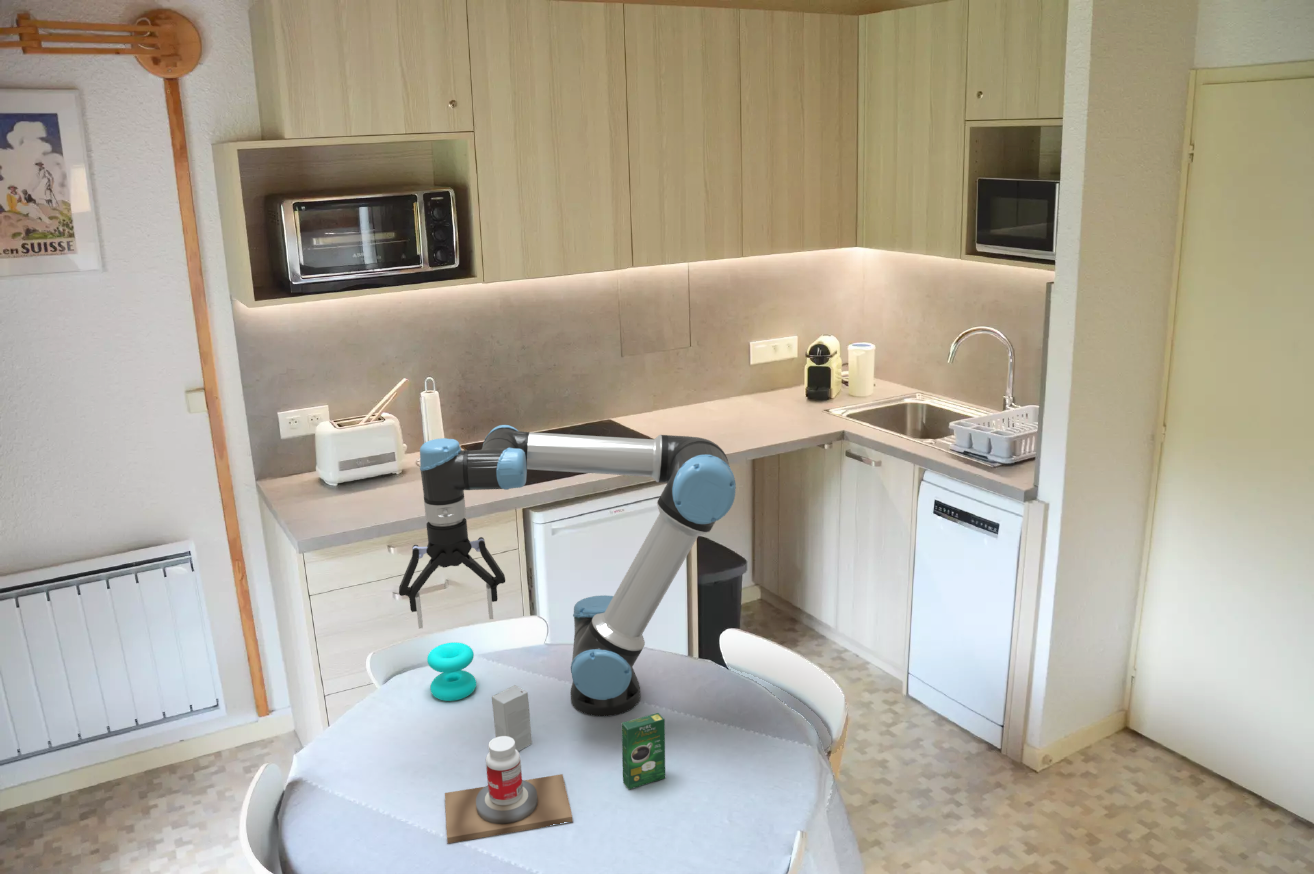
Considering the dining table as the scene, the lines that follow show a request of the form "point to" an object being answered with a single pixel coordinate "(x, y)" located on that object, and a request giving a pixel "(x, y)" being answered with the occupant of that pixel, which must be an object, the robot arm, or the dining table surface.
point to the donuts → (451, 671)
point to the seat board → (480, 828)
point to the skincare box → (513, 716)
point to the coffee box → (643, 750)
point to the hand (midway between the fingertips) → (456, 620)
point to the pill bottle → (504, 771)
